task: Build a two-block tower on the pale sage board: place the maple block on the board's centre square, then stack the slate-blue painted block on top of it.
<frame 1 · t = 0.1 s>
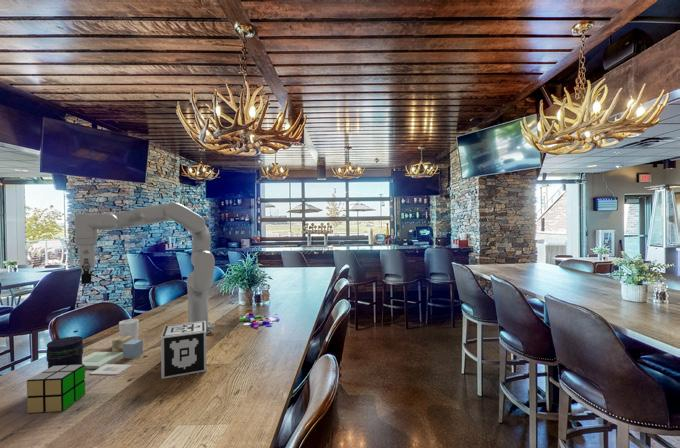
hand: (86, 281, 139), 31 cm above the table, tool pointing down, fingers open, 9 cm apart
storage jar: (65, 384, 113), on the table
block: (185, 367, 126), on the table
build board: (96, 361, 131), on the table
instruction card: (111, 369, 123), on the table
white cup: (129, 342, 152), on the table
slate block: (133, 356, 137), on the table
maple block: (122, 351, 141), on the table
flower wreath: (260, 322, 184), on the table
puzzle cube: (57, 404, 100), on the table
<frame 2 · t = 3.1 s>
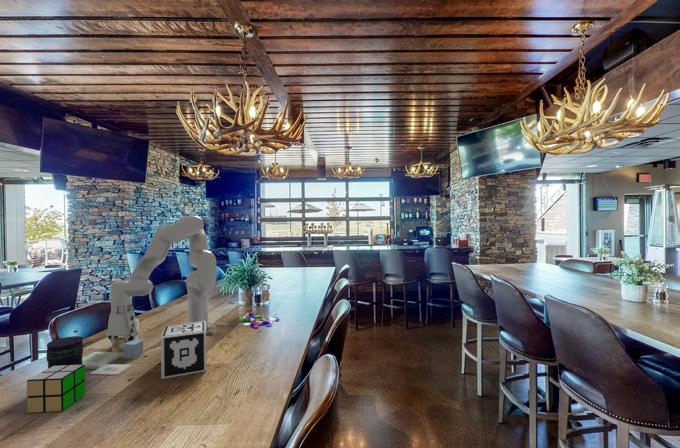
hand: (121, 350, 141), 1 cm above the table, tool pointing down, fingers closed on maple block, 5 cm apart
maple block: (122, 351, 141), on the table, touching gripper
everything else where it was.
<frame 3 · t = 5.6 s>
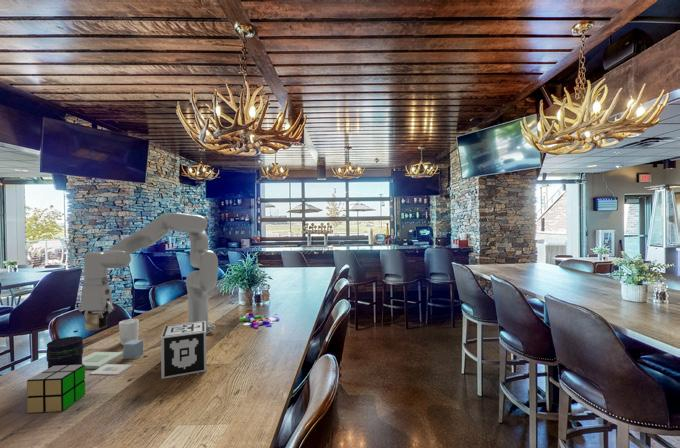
hand: (96, 326, 131), 14 cm above the table, tool pointing down, fingers closed on maple block, 5 cm apart
maple block: (96, 328, 131), point 14 cm above the table, touching gripper
everything else where it was.
when the fingers open (3 cm above the table, at t = 7.9 s): maple block stays where it is, resting on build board.
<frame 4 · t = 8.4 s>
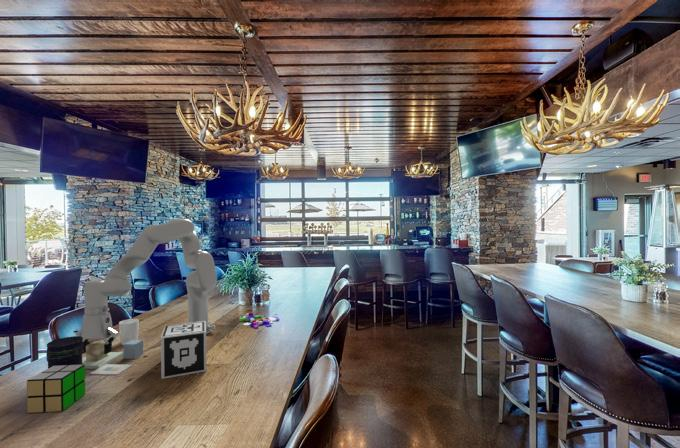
hand: (96, 352, 131), 4 cm above the table, tool pointing down, fingers open, 9 cm apart
maple block: (97, 358, 131), point 1 cm above the table, touching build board
everything else where it was.
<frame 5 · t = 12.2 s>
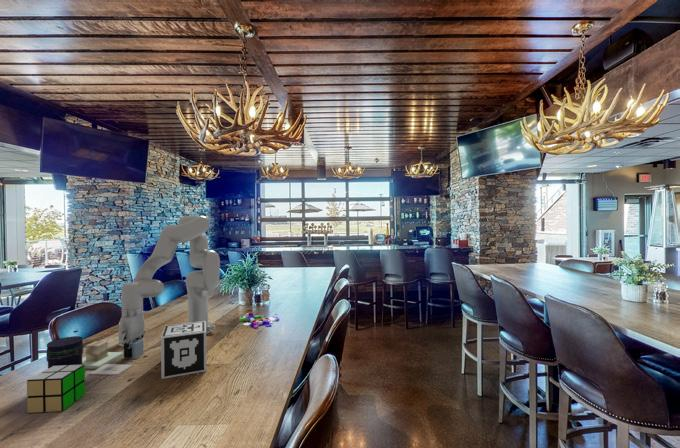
hand: (132, 354, 136), 1 cm above the table, tool pointing down, fingers closed on slate block, 5 cm apart
slate block: (133, 356, 136), on the table, touching gripper
everything else where it was.
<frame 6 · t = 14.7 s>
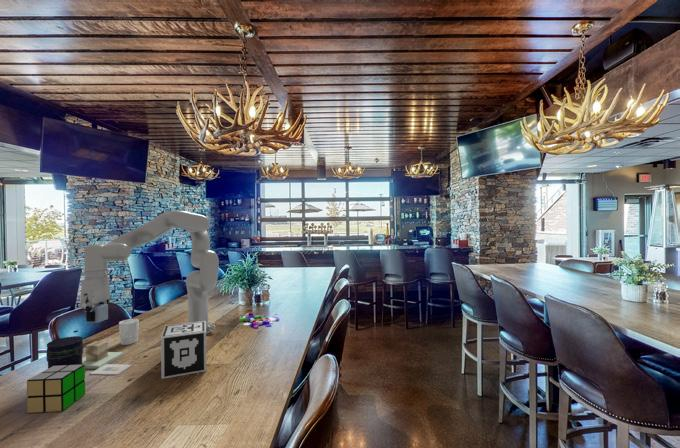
hand: (96, 318, 131), 17 cm above the table, tool pointing down, fingers closed on slate block, 5 cm apart
slate block: (97, 320, 131), point 17 cm above the table, touching gripper
everything else where it was.
when the fingers open (9 cm above the table, at t = 17.0 s): slate block stays where it is, resting on maple block.
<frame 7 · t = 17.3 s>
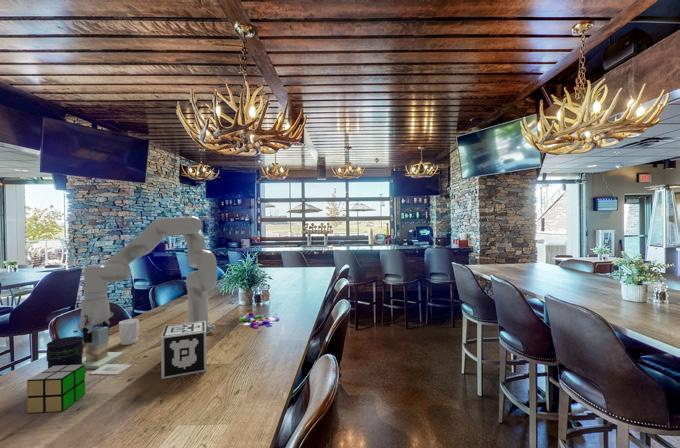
hand: (96, 338, 131), 9 cm above the table, tool pointing down, fingers open, 8 cm apart
slate block: (97, 343, 131), point 7 cm above the table, touching maple block
maple block: (97, 358, 131), point 1 cm above the table, touching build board, slate block
everything else where it was.
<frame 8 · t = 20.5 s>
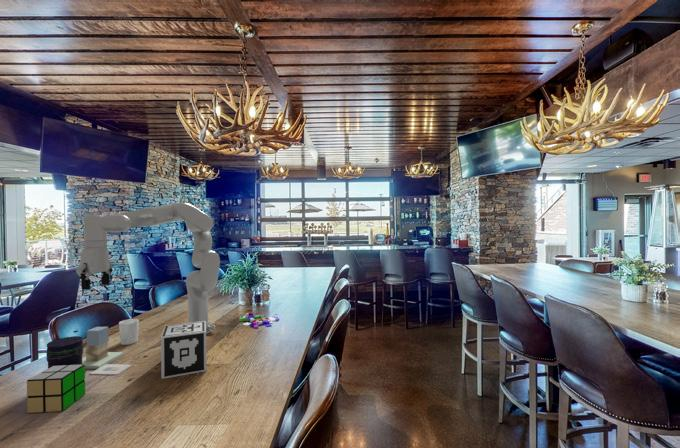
hand: (96, 287, 131), 30 cm above the table, tool pointing down, fingers open, 9 cm apart
nothing on the table moved.
at the end: maple block inside the target area on the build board (0.0 cm from its centre), point 1.3 cm above the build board's base; slate block 0.4 cm off-centre on the maple block, point 6.0 cm above the maple block's base; slate block tilted 0° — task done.
